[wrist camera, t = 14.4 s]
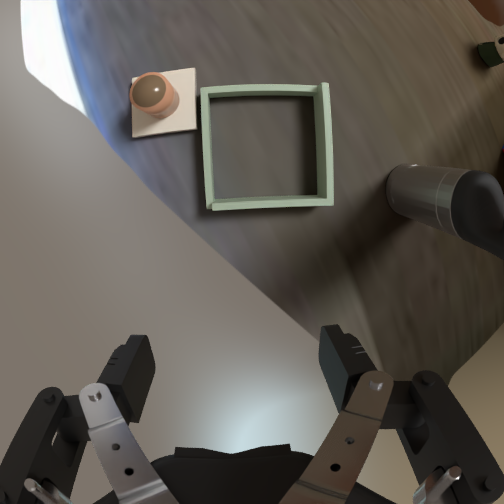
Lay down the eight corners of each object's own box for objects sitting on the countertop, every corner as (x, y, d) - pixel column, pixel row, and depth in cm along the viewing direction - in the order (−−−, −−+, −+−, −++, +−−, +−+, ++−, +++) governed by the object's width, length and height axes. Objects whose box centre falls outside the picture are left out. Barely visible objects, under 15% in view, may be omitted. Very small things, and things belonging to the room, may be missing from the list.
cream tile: (195, 70, 37) (194, 67, 35) (197, 129, 40) (196, 128, 38) (135, 80, 36) (132, 78, 35) (135, 137, 39) (132, 137, 38)
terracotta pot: (179, 83, 36) (169, 69, 29) (179, 116, 37) (168, 107, 31) (145, 88, 36) (130, 75, 29) (145, 120, 37) (128, 113, 30)
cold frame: (318, 91, 39) (328, 83, 34) (323, 201, 44) (333, 205, 39) (202, 92, 38) (198, 84, 33) (208, 206, 43) (205, 211, 38)
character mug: (482, 36, 33) (516, 25, 20) (498, 59, 34) (532, 52, 22) (469, 51, 35) (506, 39, 22) (486, 76, 36) (524, 70, 24)
